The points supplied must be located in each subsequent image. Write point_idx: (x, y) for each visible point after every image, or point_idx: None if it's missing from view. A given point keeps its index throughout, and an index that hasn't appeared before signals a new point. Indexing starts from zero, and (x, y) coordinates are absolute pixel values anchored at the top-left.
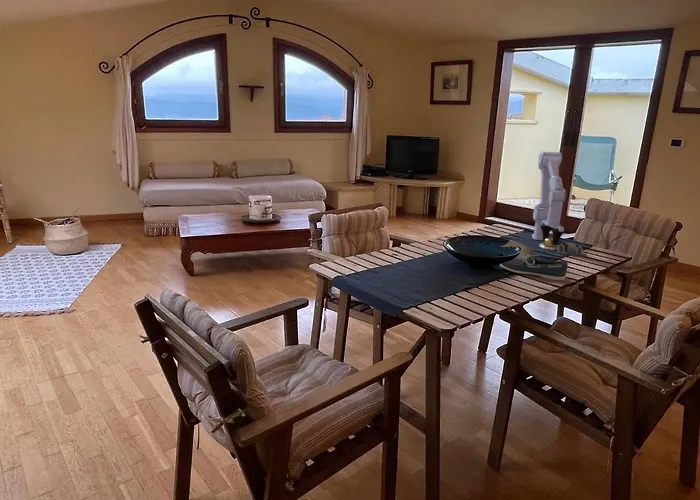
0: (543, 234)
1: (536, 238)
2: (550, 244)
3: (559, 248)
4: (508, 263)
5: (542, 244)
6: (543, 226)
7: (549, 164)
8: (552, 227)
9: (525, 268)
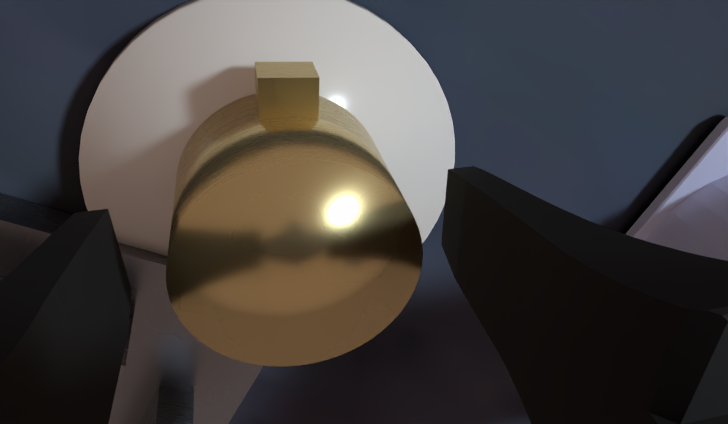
0: (517, 214)
1: (715, 175)
2: (179, 182)
3: None
4: None
5: (391, 99)
6: (704, 362)
7: None
8: None
9: None
